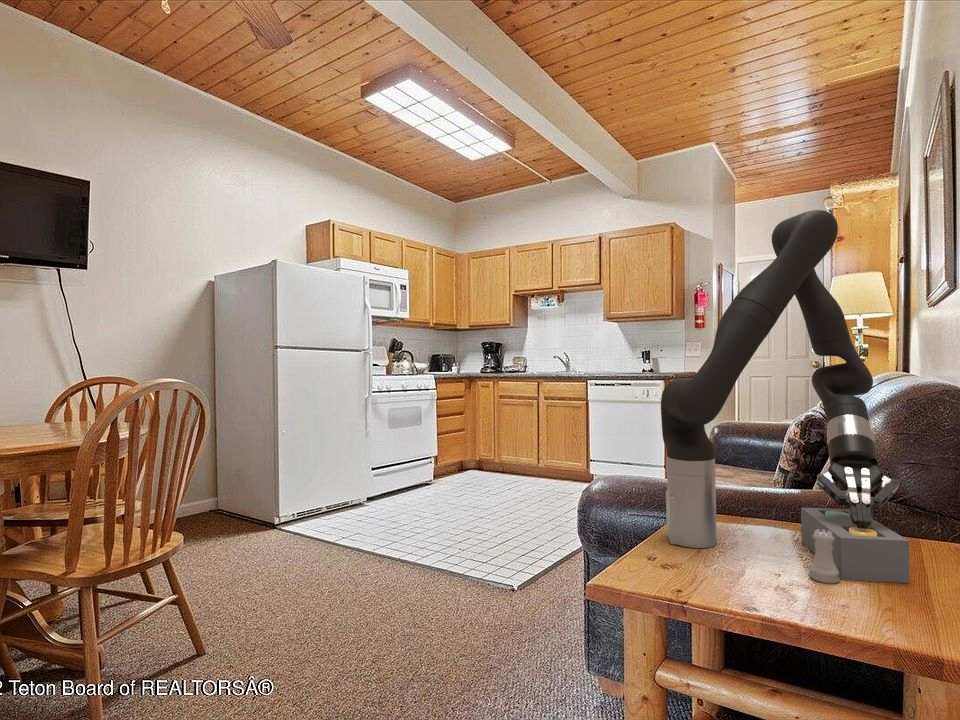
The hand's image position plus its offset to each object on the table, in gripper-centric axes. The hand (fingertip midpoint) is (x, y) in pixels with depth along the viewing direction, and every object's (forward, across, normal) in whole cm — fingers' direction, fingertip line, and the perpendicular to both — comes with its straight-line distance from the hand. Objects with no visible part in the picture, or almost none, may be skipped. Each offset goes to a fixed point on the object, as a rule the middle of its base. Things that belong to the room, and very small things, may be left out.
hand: (863, 526), depth 93 cm
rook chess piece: (+10, -6, +2) cm, 12 cm away
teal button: (-4, -3, +10) cm, 11 cm away
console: (+2, -1, +9) cm, 10 cm away
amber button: (+3, 0, +3) cm, 4 cm away
